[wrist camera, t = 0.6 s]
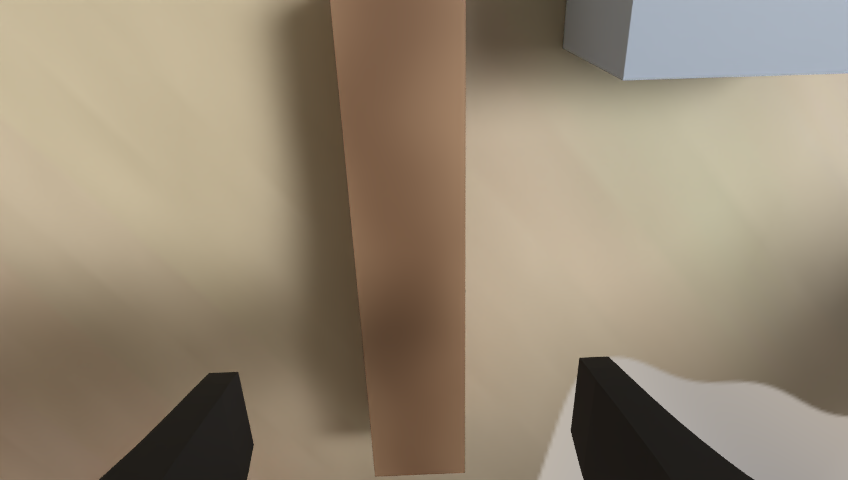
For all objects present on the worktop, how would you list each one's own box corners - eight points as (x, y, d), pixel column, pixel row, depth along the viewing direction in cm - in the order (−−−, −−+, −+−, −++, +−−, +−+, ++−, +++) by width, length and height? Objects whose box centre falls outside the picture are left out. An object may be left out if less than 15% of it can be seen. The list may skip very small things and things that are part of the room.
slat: (454, -23, 16) (466, -20, 13) (456, 404, 23) (464, 472, 20) (343, -19, 16) (328, -15, 13) (379, 407, 23) (375, 476, 20)
